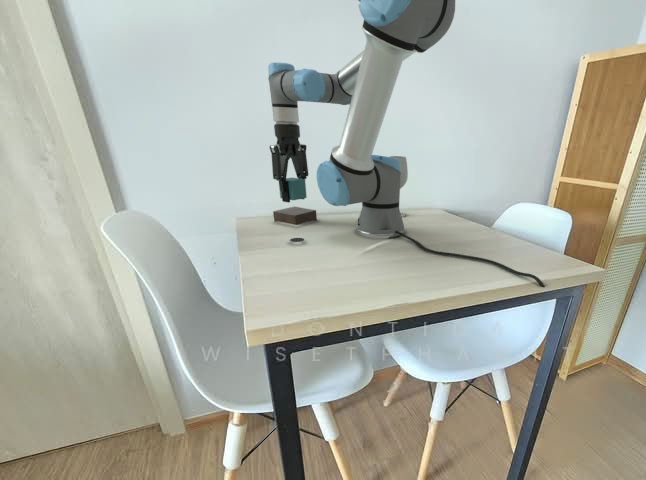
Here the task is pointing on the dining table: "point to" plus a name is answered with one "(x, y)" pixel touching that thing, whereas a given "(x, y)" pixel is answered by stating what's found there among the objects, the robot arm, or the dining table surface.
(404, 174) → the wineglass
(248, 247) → the dining table surface
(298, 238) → the cap
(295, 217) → the block
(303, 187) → the block
